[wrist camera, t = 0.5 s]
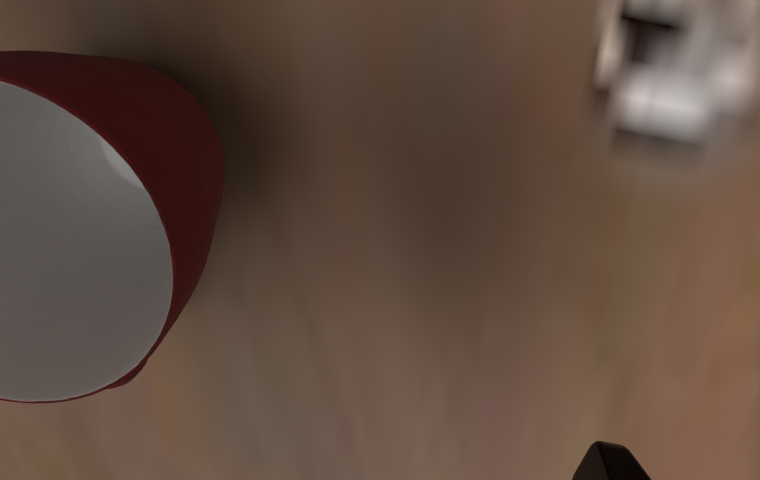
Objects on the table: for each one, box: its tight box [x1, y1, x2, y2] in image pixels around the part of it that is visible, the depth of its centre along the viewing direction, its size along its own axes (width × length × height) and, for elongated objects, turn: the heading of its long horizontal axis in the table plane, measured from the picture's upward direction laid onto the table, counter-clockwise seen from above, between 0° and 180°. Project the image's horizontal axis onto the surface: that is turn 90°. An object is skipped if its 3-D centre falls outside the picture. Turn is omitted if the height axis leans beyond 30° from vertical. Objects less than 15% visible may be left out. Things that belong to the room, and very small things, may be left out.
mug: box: [0, 51, 224, 403], centre depth 19 cm, size 11×8×10 cm
